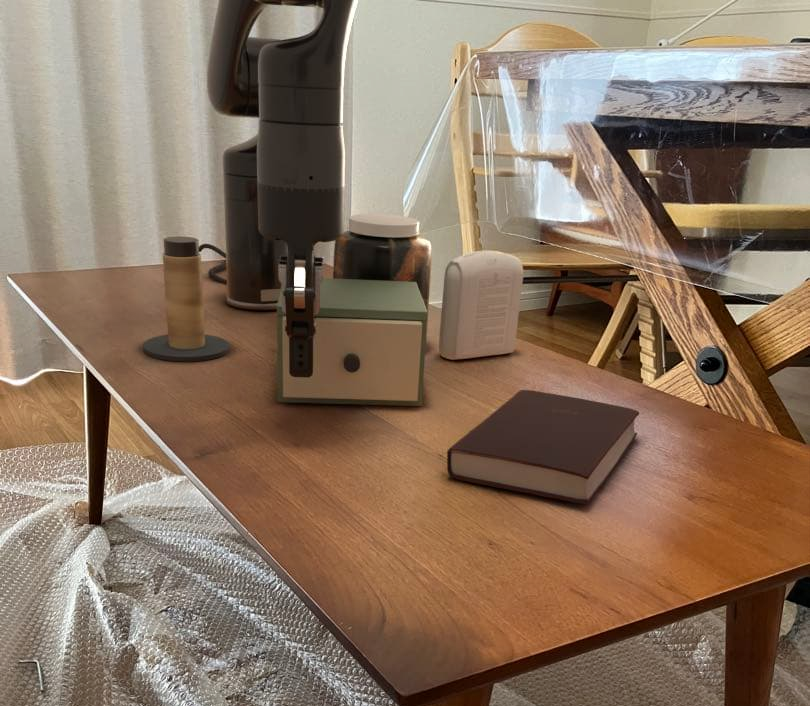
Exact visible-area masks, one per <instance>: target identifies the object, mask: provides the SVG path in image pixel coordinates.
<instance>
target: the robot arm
mask: <svg viewBox="0 0 810 706" xmlns="http://www.w3.org/2000/svg"><path fill="white" fill-rule="evenodd" d="M359 1H360V0H218V3H217V8H216V13H215V17H214V24H213V28H212V34H211V40H210V44H209V51H208V58H207V64H206V65H207V66H206V89H207V96H208V100H209V102H210V105H211V107H212V108H213V110H214V111H215V112H216V113H218V114H219V115H222V116H226V117H232V118H248V119H259V121H258V133H256V134H255V135H254V136H252V137H251V138H249V139H248V140H246V141H243V142H240V143H238V144H235V145H233V146H229V147H228V148H226V149H225V150H224V151H223V153H222V178H223V179H222V181H223V182H222V183H223V203H224V205H223V207H224V229H225V230H224V235H225V236H224V237H225V252H224V251H223V250H222V249H220V248H218V247H217V246H215V245H213V244H210V243H203V244H200V245H199V253H201V252H202V251H203V250H205V249H208V250H212V251H214V252H215V253H217V254H218V255H220V256H221V257H223V258H224V259H225V260H224V262H222V263H221V264H218V265H216V266H214V267H212V268H210V269H209V270H208V275H209V277H210V278H211V279H213V280H214V281H216V282H218V283H221V284H223V285H226V304H228V305H229V306H231V307H234V308H238V309H242V310H249V311H277V304H278V299H279V295H280V290H281V287H282V311H283V313H285V314H286V326H285V331H286V333H287V335H288V337H289V373H290V375H291V376H292V377H311V376H312V374H313V338H314V334H316V324H315V318H316V315H317V314H318V313H319V312H320V284H321V283H322V281H323V278H324V256H316V254H315V245H317V243H331V242H335V240H338V239H340V238H341V237H342V236H343V233H344V232H345V193H346V192H345V191H346V190H345V189H346V145H345V139H344V137H345V136H344V125H343V123H344V100H345V99H344V98H345V97H344V94H345V93H344V92H345V90H344V89H345V69H346V60H347V51H348V45H349V40H350V36H351V31H352V27H353V22H354V20H355V19H354V18H355V15H356V11H357V9H358V4H359ZM270 5H271V6H286V7H289V6H290V7H301V8H302V7H304V8H317V7H318V8H320V9H322V14H321V17H320V20H319V22H318V24H317V26H316V27H315V28H314V29H313V30H311V31H310V32H309V33H306V34H304V35H301V36H296V37H291V38H286V39H285V38H284V39H279V38H270V37H258V36H257V37H255V36H250V34H251V31H252V29H253V27H254V25H255V24H256V22H257V21H258V18H259V17H260V15H261V14H262V13H263V12H264V10H266V8H267V7H268V6H270ZM224 269H226V279H225V278H223V277H221V276H219V275H217V274H216V272H219V271H221V270H224Z"/></svg>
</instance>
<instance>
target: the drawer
mask: <svg viewBox="0 0 810 706" xmlns="http://www.w3.org/2000/svg"><path fill="white" fill-rule="evenodd" d="M315 324H316V334H314V338H313V374H312V376H311V377H292V376H291V375H290V373H289V337H288V335H287V333H286V331H285V326H286V316H284V317H283V397H294V398H329V399H364V400H399V401H417V399H418V383H419V367H420V351H421V336H422V323H421V321H412V320H395V319H368V318H340V317H316V318H315Z"/></svg>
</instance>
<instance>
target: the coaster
mask: <svg viewBox="0 0 810 706" xmlns="http://www.w3.org/2000/svg"><path fill="white" fill-rule="evenodd" d="M142 350H143V353H144V354H145V355H147V356H148V357H150V358H153V359H157V360H161V361H162V360H163V361H168V362H181V363H182V362H183V363H185V362H186V363H188V362H189V363H191V362H192V363H193V362H204V361H209V360H215V359H218V358H221V357H224V356H226V355H228V353H229V352H230V350H231V345H230V343H229V342H228V340H226V339H225V338H222V337H220V336H217V335H213V334H212V335H211V334H205V346H203V347H201V348H198V349H190V350H183V349H176V348H172V347H170V346H169V342H168V334H163V335H158V336H157V335H156V336H155V337H154V336H153V337H150V338H148V339H146V340H145V341H144V342H143V344H142Z"/></svg>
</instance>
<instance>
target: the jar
mask: <svg viewBox="0 0 810 706" xmlns="http://www.w3.org/2000/svg"><path fill="white" fill-rule="evenodd" d="M332 262H333V263H332V264H333V266H332V279H355V280H380V281H405V282H416V283H417V286H418V288H419V291H420V294H421V296H422V299H423V301H424V304H425V307H426V309H427V312H428V313H429V309H430V308H429V307H430V296H431V295H430V293H431V280H432V279H431V278H432V275H431V274H432V244H431V241H430V240H429V239H428V238H426V237H424V236H422V235H420V220H418V219H417V218H414V217H409V216H404V215H397V214H387V213H357V214H351V215H350V216H349V217H348V227H347V230H346V231H345V230H344V233H343V236H342V237H341V238H340V239H338V240H335V241H334V247H333V261H332ZM428 325H429V315H428V316H427V326H428ZM427 337H428V331H427V332H426V340H427Z"/></svg>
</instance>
